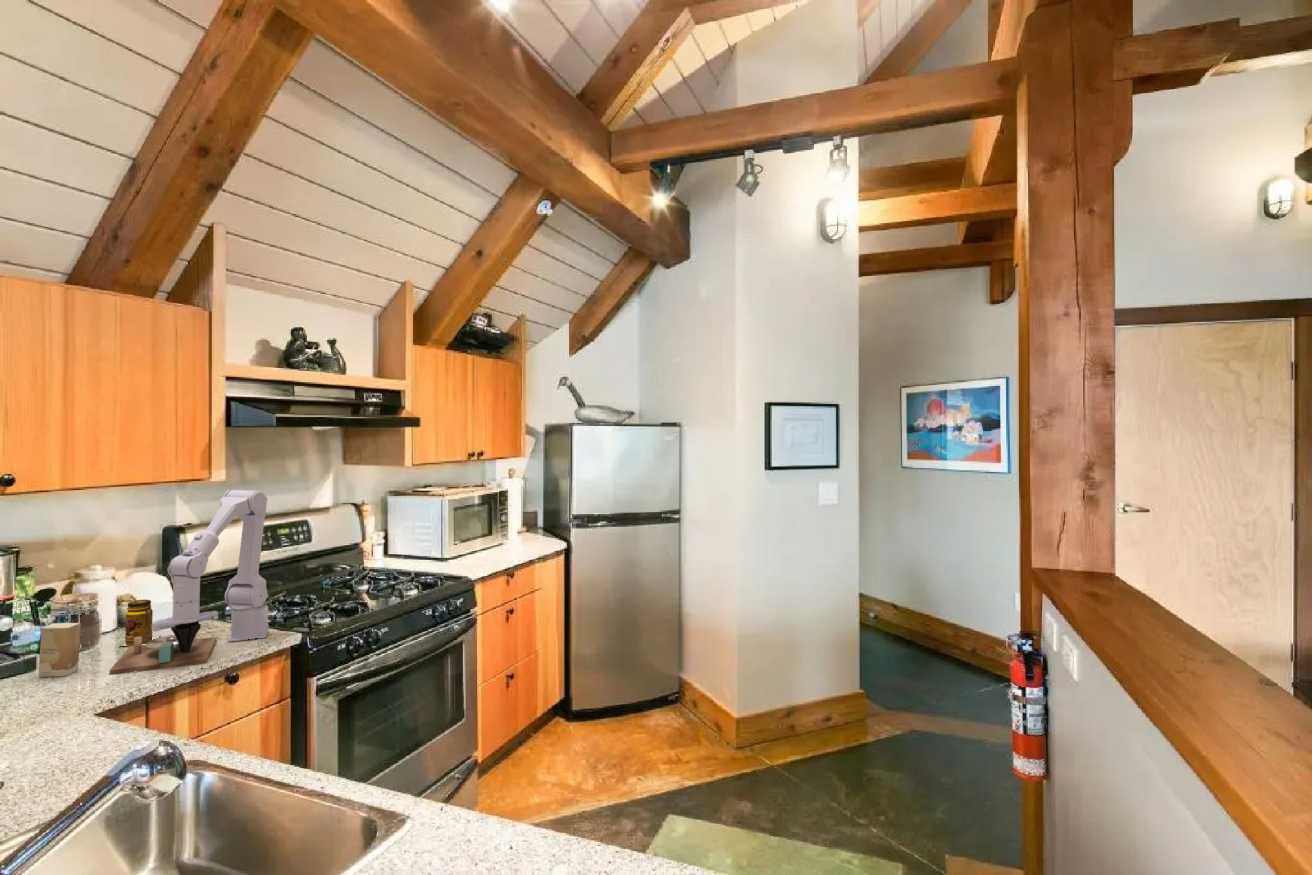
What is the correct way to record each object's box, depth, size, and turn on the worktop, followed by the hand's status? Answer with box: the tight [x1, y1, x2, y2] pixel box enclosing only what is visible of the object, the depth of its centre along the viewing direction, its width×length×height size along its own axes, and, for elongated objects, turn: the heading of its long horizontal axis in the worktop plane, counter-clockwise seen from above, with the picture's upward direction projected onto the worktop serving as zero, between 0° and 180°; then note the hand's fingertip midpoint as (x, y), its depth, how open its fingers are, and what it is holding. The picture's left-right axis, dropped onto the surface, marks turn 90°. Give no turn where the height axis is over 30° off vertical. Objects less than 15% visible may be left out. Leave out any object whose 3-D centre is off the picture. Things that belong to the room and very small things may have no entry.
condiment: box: [124, 599, 162, 646], centre depth 184 cm, size 7×8×12 cm
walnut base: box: [109, 636, 218, 676], centre depth 172 cm, size 20×20×6 cm
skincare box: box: [38, 622, 82, 678], centre depth 159 cm, size 6×4×12 cm
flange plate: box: [146, 634, 198, 663], centre depth 171 cm, size 16×11×4 cm
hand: (185, 651), depth 169 cm, fingers closed
